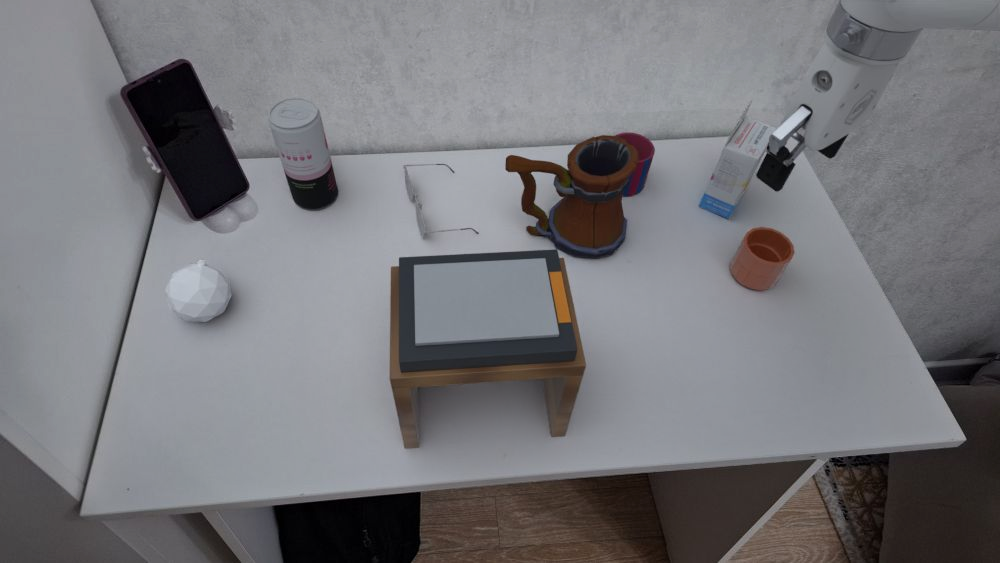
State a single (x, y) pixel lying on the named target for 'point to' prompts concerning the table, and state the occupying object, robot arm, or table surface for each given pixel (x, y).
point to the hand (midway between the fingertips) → (795, 167)
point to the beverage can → (303, 152)
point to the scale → (483, 311)
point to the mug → (582, 196)
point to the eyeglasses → (419, 205)
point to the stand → (484, 375)
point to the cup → (645, 160)
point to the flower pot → (761, 258)
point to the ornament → (198, 292)
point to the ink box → (736, 165)
